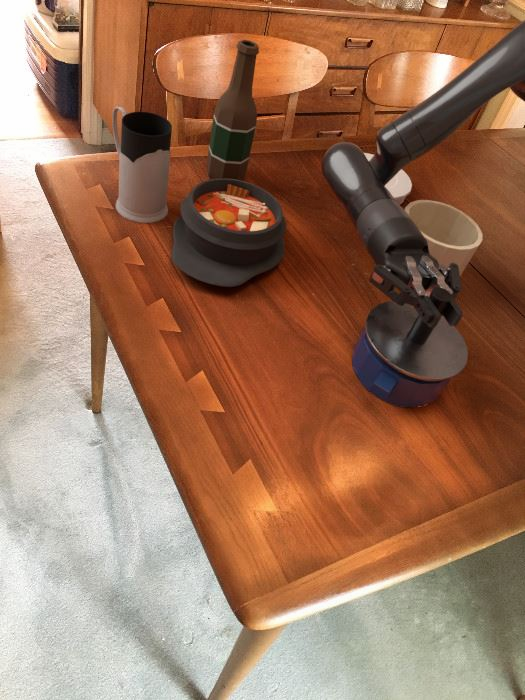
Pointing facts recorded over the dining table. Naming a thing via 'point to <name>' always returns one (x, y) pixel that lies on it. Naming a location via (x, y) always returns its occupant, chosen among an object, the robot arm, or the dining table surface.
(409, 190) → the lid
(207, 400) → the dining table surface
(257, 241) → the casserole
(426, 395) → the pan
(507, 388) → the dining table surface
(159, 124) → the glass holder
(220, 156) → the beer bottle
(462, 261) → the pot
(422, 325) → the steel lid
